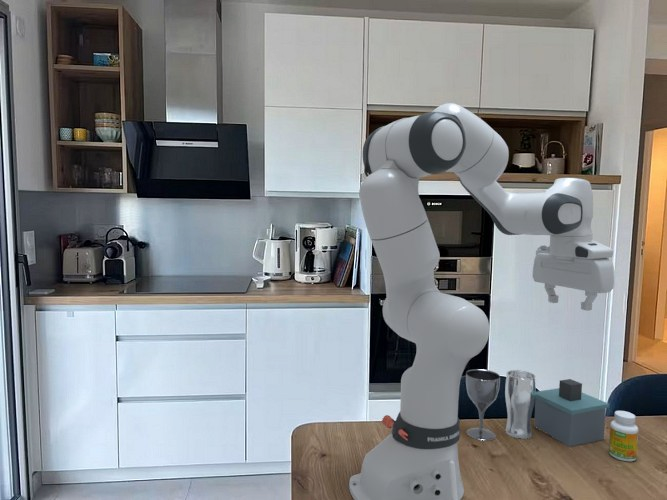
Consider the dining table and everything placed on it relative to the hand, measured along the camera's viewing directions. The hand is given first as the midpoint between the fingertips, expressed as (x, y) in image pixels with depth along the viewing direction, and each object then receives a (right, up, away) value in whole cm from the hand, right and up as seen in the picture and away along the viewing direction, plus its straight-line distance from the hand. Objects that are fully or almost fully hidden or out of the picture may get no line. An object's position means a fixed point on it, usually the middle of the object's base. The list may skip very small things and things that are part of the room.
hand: (569, 306), depth 111 cm
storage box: (+3, -32, +6) cm, 33 cm away
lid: (+3, -24, +6) cm, 25 cm away
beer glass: (-10, -32, +6) cm, 34 cm away
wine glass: (-19, -32, +5) cm, 38 cm away
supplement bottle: (+10, -34, -5) cm, 35 cm away
